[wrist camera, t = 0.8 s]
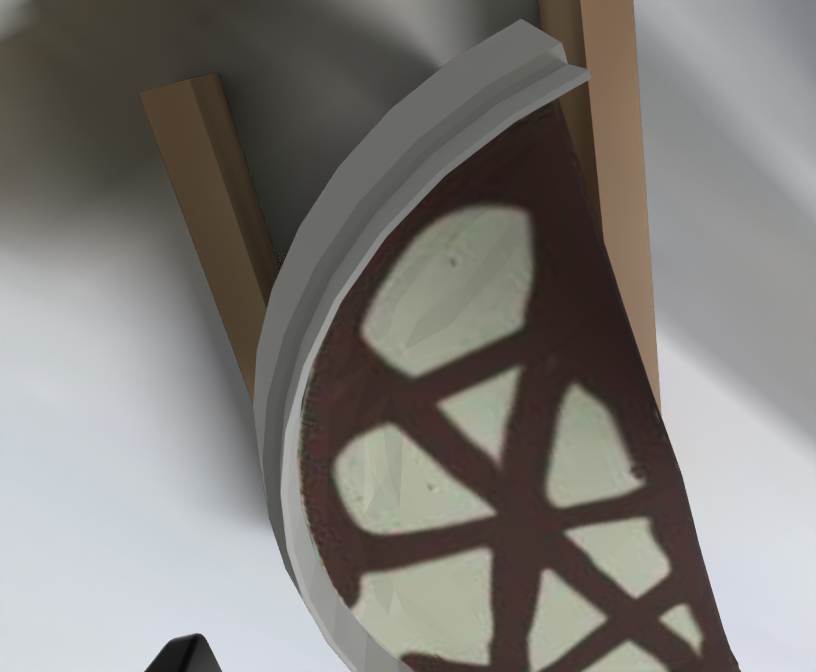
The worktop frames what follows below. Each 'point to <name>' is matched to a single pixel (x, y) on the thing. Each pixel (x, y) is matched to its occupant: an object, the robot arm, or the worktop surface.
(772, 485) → the worktop surface
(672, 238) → the worktop surface
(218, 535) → the worktop surface
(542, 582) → the food container
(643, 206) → the dock
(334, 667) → the worktop surface
